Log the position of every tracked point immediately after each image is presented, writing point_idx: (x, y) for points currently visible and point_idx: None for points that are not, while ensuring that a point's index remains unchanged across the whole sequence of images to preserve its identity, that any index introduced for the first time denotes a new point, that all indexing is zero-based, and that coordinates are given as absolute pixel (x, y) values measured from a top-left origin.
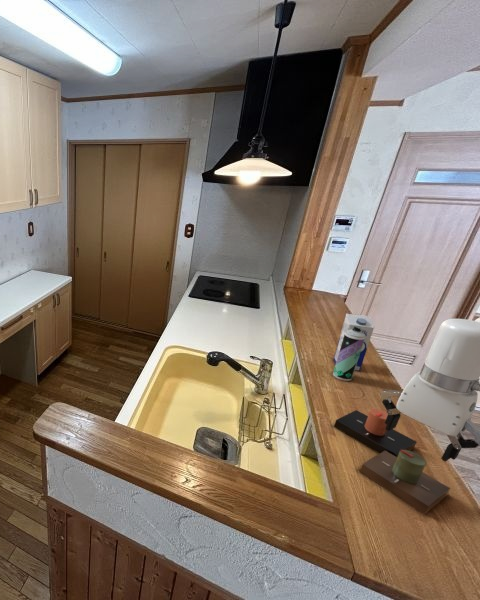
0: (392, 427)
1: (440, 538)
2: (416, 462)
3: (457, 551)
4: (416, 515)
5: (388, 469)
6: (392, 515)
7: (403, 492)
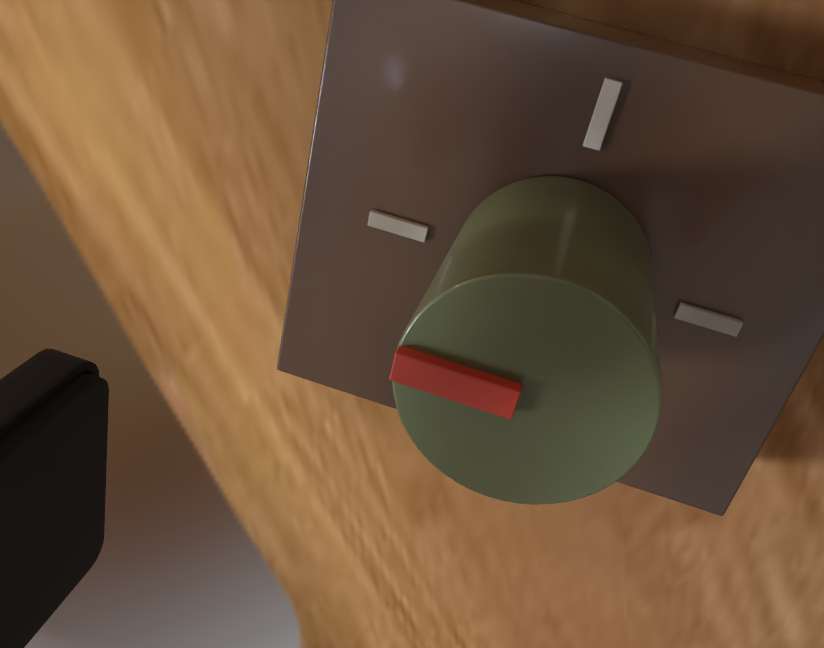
0: (75, 516)
1: (793, 590)
2: (565, 471)
3: None
4: None
5: None
6: (550, 581)
7: None
